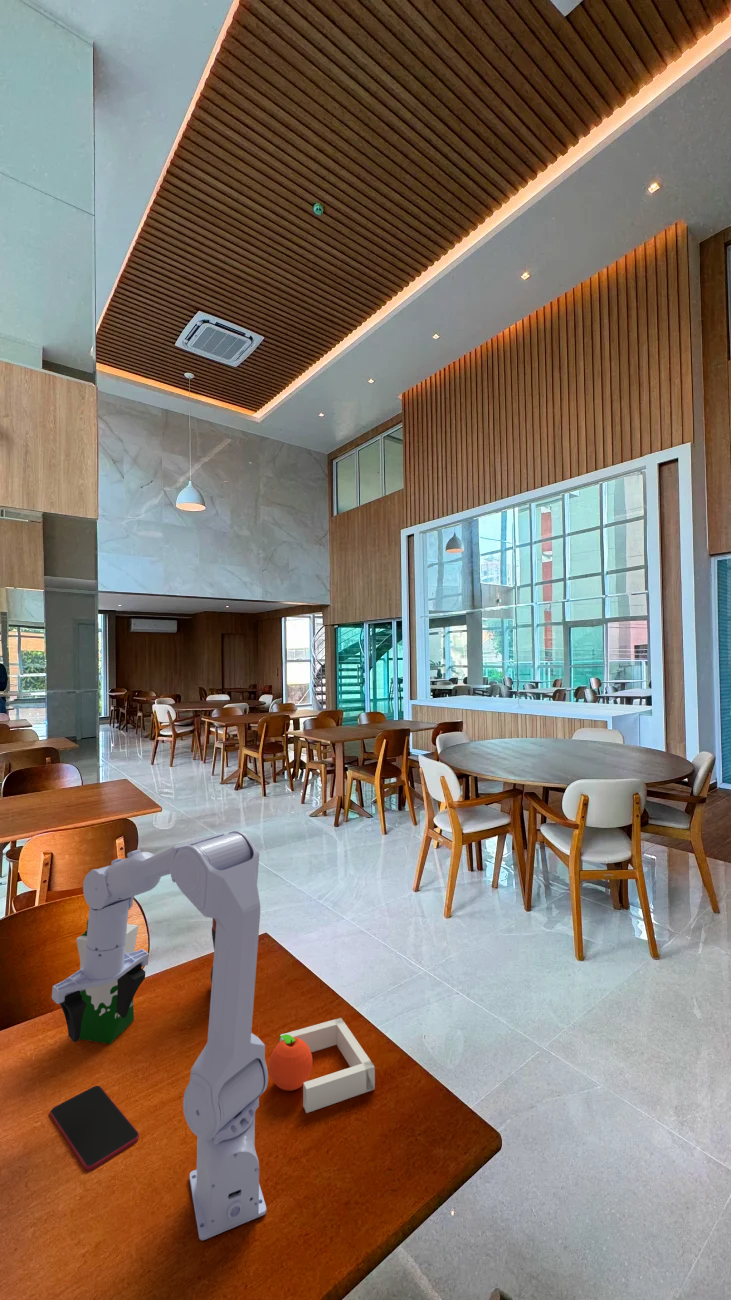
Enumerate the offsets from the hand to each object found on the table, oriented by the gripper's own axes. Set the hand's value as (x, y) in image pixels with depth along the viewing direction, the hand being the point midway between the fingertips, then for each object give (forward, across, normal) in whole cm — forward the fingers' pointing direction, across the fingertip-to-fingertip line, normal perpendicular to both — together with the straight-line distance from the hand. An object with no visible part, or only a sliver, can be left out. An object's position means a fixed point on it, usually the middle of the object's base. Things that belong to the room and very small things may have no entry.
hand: (98, 1026), depth 87 cm
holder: (+7, -26, +26) cm, 38 cm away
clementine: (+8, -20, +24) cm, 32 cm away
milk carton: (+12, -9, -13) cm, 20 cm away
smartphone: (+10, +3, +7) cm, 13 cm away
